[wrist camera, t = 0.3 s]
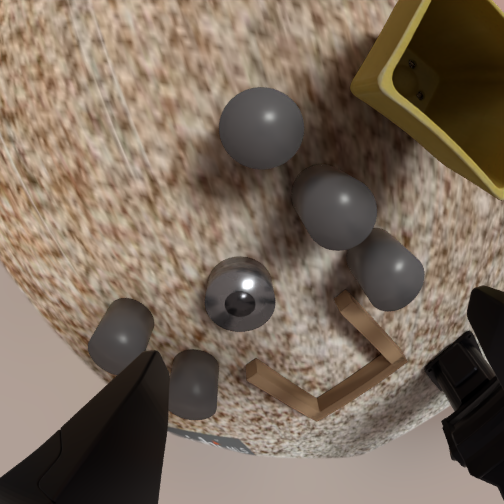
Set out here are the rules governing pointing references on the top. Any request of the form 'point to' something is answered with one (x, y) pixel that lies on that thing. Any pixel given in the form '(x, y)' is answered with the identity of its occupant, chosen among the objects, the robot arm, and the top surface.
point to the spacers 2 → (322, 196)
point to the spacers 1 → (135, 342)
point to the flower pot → (443, 83)
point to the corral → (349, 387)
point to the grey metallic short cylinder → (240, 294)
